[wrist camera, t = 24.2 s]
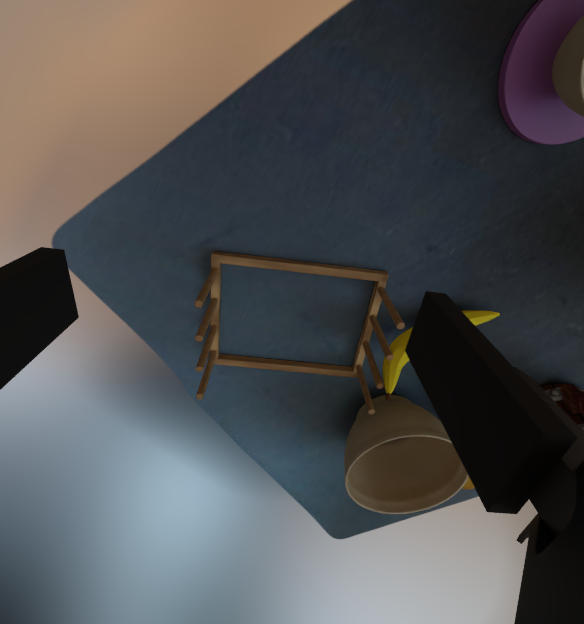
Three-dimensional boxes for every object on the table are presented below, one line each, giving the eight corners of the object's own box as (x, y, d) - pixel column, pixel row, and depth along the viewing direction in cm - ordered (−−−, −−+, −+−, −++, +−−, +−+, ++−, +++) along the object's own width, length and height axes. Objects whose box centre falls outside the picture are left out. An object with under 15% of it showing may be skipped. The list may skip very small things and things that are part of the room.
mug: (504, 444, 56) (572, 529, 42) (503, 371, 51) (578, 438, 37) (578, 433, 55) (674, 516, 41) (583, 357, 50) (693, 421, 36)
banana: (465, 304, 46) (508, 328, 41) (353, 372, 42) (388, 408, 37) (467, 287, 44) (513, 310, 40) (351, 357, 40) (387, 392, 35)
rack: (213, 250, 39) (192, 284, 31) (386, 271, 41) (411, 309, 32) (212, 358, 47) (195, 409, 39) (357, 372, 48) (371, 424, 40)
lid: (538, -45, 27) (548, -52, 26) (684, -17, 28) (699, -23, 27) (475, 134, 33) (481, 134, 32) (595, 152, 34) (605, 153, 33)
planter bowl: (432, 445, 56) (461, 510, 47) (337, 452, 57) (346, 518, 48) (444, 371, 49) (481, 431, 39) (333, 381, 49) (343, 442, 40)
